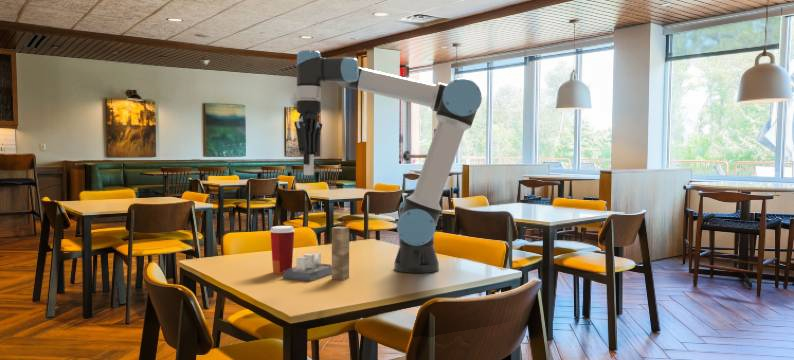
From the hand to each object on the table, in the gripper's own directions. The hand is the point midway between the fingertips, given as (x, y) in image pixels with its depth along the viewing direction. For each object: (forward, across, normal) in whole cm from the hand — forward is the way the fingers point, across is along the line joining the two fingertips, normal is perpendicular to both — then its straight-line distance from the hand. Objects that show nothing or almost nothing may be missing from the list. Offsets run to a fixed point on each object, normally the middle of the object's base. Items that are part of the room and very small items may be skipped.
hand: (308, 174), depth 186 cm
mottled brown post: (+32, -1, +11) cm, 34 cm away
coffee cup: (+33, -1, -11) cm, 34 cm away
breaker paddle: (+30, 0, 0) cm, 30 cm away
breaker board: (+32, 0, 0) cm, 32 cm away
